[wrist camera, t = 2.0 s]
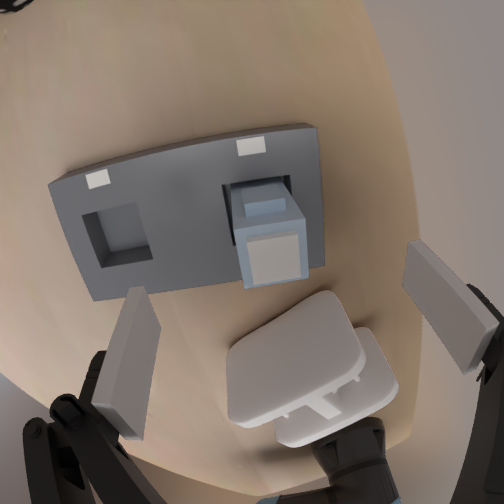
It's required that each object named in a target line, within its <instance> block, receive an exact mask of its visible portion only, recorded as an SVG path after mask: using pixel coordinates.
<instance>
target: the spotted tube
mask: <svg viewBox="0 0 504 504" xmlns="http://www.w3.org/2000/svg"><path fill="white" fill-rule="evenodd" d="M32 1H33V0H0V13H3V14H11V13H14V12H17V11H19V10H21V9H23V8H24V7H25V6H27V5H28V4H29V3H31V2H32Z"/></svg>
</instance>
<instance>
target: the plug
mask: <svg viewBox="0 0 504 504" xmlns="http://www.w3.org/2000/svg"><path fill="white" fill-rule="evenodd" d="M230 188H231V203H232V218H233V231H234V236H235V241H236V247H237V252H238V257H239V263H240V268H241V273H242V279H243V284H244V289H248V288H254V287H260V286H266V285H272V284H278V283H284V282H290V281H295V280H301V279H307V278H309V269H308V251H307V235H306V220H305V217H304V215H303V214H302V212H301V210H300V209H299V207H298V206H297V204H296V202H295V201H294V199H293V198H292V196H291V195H290V193H289V191H288V190H287V188H286V187H285V185H284V184H283V182H282V181H281V179H280V177H279V176H276V177H269V178H262V179H256V180H249V181H243V182H237V183H231V184H230Z"/></svg>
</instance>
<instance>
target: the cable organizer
mask: <svg viewBox="0 0 504 504" xmlns="http://www.w3.org/2000/svg"><path fill="white" fill-rule="evenodd" d="M226 378H227V403H228V417H229V419H230V420H231V421H232V422H233V423H235V424H237V425H239V426H241V427H244V428H253V427H256V426H259V425H261V424H264V423H266V422H269V421H271V420H273V425H274V431H275V437H276V440H277V441H278V442H279V443H281V444H283V445H286V446H288V447H292V448H295V447H301V446H303V445H306V444H308V443H311V442H313V441H316V440H318V439H320V438H322V437H325V436H327V435H329V434H331V433H334V432H336V431H338V430H340V429H342V428H344V427H346V426H348V425H350V424H352V423H354V422H356V421H358V420H360V419H362V418H364V417H366V416H368V415H370V414H372V413H374V412H375V411H377V410H379V409H381V408H383V407H384V406H386V405H387V404H389V403H390V402H391V401H392V400H393V399H394V398H395V396H396V395H397V392H398V389H399V384H398V381H397V379H396V377H395V375H394V373H393V371H392V369H391V367H390V365H389V363H388V361H387V359H386V357H385V355H384V354H383V352H382V350H381V348H380V346H379V344H378V342H377V340H376V338H375V336H374V335H373V334H372V332H371V331H370V329H368V328H366V327H358V328H355V329H354V328H353V326H352V324H351V322H350V320H349V318H348V316H347V314H346V312H345V310H344V308H343V306H342V304H341V302H340V300H339V299H338V298H337V296H336V295H335V294H334V292H332V291H329V290H325V291H321V292H318V293H316V294H314V295H312V296H309V297H307V298H306V299H304V300H303V301H301V302H300V303H298V304H297V305H295V306H294V307H292V308H291V309H289V310H288V311H287V312H285V313H284V314H282V315H280V316H279V317H277V318H276V319H274V320H272V321H271V322H269V323H267V324H266V325H264V326H262V327H260V328H258V329H256V330H255V331H253V332H251V333H250V334H248V335H246V336H245V337H243V338H242V339H241V340H239V341H238V342H237V343H235V344H234V345H233V346H232V347H231V349H230V350H229V352H228V353H227V356H226Z"/></svg>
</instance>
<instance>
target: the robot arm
mask: <svg viewBox="0 0 504 504" xmlns="http://www.w3.org/2000/svg"><path fill="white" fill-rule="evenodd" d="M402 286H403V288H404V289H405V290H406V292H407V293H408V294H409V296H410V297H411V298H412V300H413V301H414V303H415V304H416V305H417V307H418V308H419V309H420V311H421V312H422V314H423V315H424V316H425V318H426V319H427V320H428V322H429V323H430V325H431V326H432V328H433V329H434V330H435V332H436V333H437V335H438V336H439V338H440V339H441V341H442V342H443V344H444V345H445V347H446V348H447V349H448V351H449V353H450V354H451V356H452V357H453V359H454V361H455V362H456V363H457V365H458V367H459V368H460V370H461V371H462V373H463V375H465V374H467V373H469V372H471V371H473V370H475V369H477V366H478V365H479V363H480V361H481V360H482V361H483V363H484V364H485V365H484V367H483V369H482V370H481V372H480V374H479V376H478V377H477V380H476V381H477V382H478V381H479V379H480V378H481V384H480V391H479V398H478V403H477V409H476V414H475V419H474V424H473V428H472V433H471V437H470V441H469V445H468V449H467V453H466V456H465V460H464V463H463V467H462V470H461V473H460V477H459V479H458V482H457V485H456V488H455V491H454V493H453V496H452V499H451V502H450V504H504V317H503V316H502V315H501V313H500V312H499V311H498V310H497V309H496V308H495V307H494V305H493V304H492V303H490V301H489V300H488V299H487V298H486V297H485V296H484V295H483V293H482V292H481V291H480V290H479V289H478V288H476V287H474V286H473V285H471V284H467V285H466V284H465V283H464V282H463V281H462V280H461V279H460V278H459V277H458V276H457V275H456V274H455V273H454V272H453V271H452V270H451V269H450V268H449V267H448V266H447V265H446V264H445V263H444V262H443V261H442V260H441V259H440V258H439V257H438V256H437V255H436V254H435V253H434V252H433V251H432V250H431V249H430V248H429V247H428V246H427V245H426V244H425V243H423V242H422V241H421V240H415V241H409V242H408V248H407V256H406V263H405V269H404V276H403V282H402ZM160 332H161V326H160V324H159V322H158V319H157V317H156V315H155V312H154V310H153V307H152V305H151V302H150V300H149V298H148V295H147V293H146V290H145V288H144V286H140V287H133V288H129V291H128V294H127V296H126V299H125V301H124V304H123V307H122V309H121V312H120V315H119V318H118V320H117V323H116V326H115V329H114V332H113V334H112V337H111V340H110V343H109V346H108V349H107V350H106V351H98V352H97V354H96V355H95V356H94V357H93V359H92V360H91V363H90V366H89V369H88V370H89V371H88V372H87V375H86V379H85V381H84V384H83V387H82V390H81V393H80V396H79V399H77V398H76V397H75V396H74V395H72V394H63V395H61V396H58V397H57V398H56V399H55V400H54V401H53V403H52V404H51V407H50V417H51V418H52V419H53V420H54V421H55V422H53V423H49V424H47V423H46V422H45V421H44V420H43V419H42V418H39V417H36V418H32V419H31V420H29V421H28V422H27V423H26V424H25V426H24V428H23V447H24V456H25V465H26V473H27V479H28V486H29V492H30V498H31V503H32V504H96V502H95V499H94V496H93V493H92V490H91V487H90V484H89V481H90V483H91V484H92V486H93V488H94V489H95V491H96V492H97V494H98V496H99V498H100V499H101V501H102V502H103V504H167V503H166V502H165V501H164V500H163V498H162V497H161V496H160V495H159V494H158V493H157V491H156V490H155V489H154V488H153V486H152V485H151V484H150V483H149V481H148V480H147V479H146V478H145V476H144V475H143V474H142V473H141V471H140V470H139V469H138V467H137V466H136V465H135V463H134V462H133V461H132V459H131V458H130V456H129V455H128V454H127V452H126V451H125V449H124V448H123V446H122V445H121V444H120V443H119V442H118V438H119V434H120V435H121V436H122V437H123V438H124V439H125V440H143V436H144V428H145V421H146V414H147V407H148V400H149V394H150V387H151V381H152V375H153V369H154V364H155V358H156V353H157V347H158V342H159V337H160ZM312 451H313V455H314V457H315V458H316V460H317V461H318V463H319V464H320V466H321V467H322V469H323V470H324V472H325V473H326V474H327V476H328V479H329V483H330V487H326V488H321V489H316V490H311V491H306V492H300V493H294V494H287V495H279V496H275V497H270V498H264V499H261V500H259V501H258V502H257V503H256V504H401V502H400V499H401V498H400V497H399V494H398V491H397V488H396V485H395V483H394V480H393V477H392V474H391V471H390V468H389V466H388V463H387V460H386V457H385V429H384V426H383V423H382V421H381V420H379V419H376V418H363V419H360V420H358V421H356V422H354V423H352V424H350V425H348V426H346V427H344V428H342V429H340V430H338V431H336V432H334V433H331V434H329V435H327V436H325V437H322V438H320V439H318V440H316V441H313V443H312ZM88 479H89V480H88Z"/></svg>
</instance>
